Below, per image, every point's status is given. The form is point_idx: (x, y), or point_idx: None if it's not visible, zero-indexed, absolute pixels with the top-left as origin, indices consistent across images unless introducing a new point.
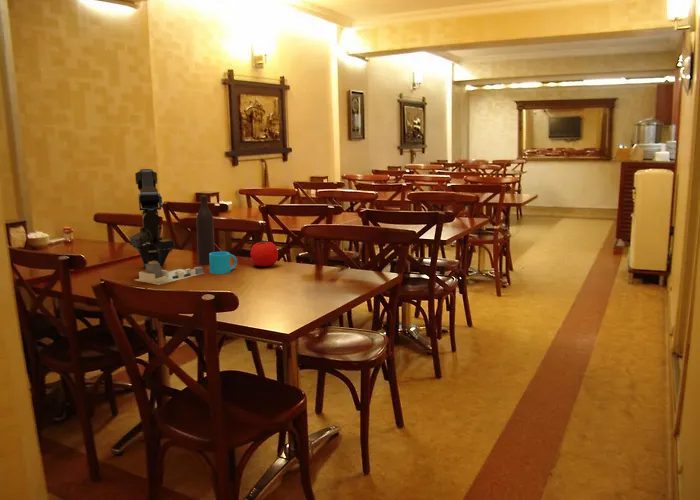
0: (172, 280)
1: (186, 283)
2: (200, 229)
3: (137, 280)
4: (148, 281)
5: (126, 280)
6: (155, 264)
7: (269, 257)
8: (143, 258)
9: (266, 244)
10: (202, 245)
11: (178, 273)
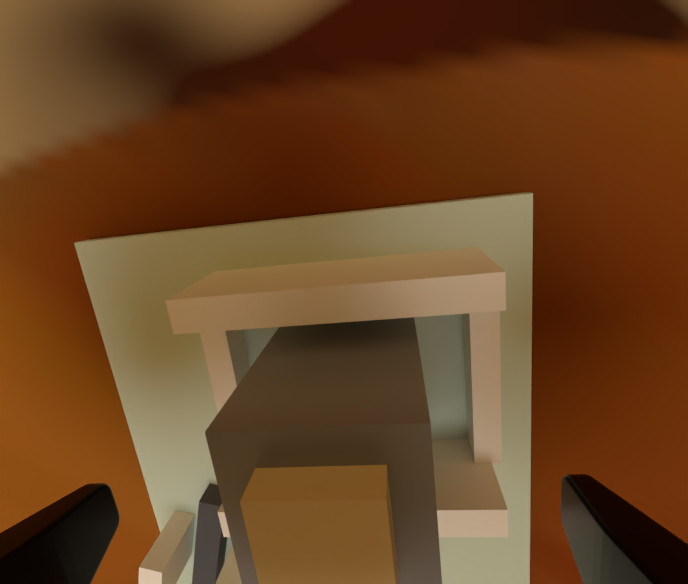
0: (154, 436)
1: (34, 460)
2: None
3: (458, 205)
4: (299, 261)
5: (670, 160)
6: (232, 501)
7: None
8: (636, 573)
9: None
10: None
11: (154, 559)
